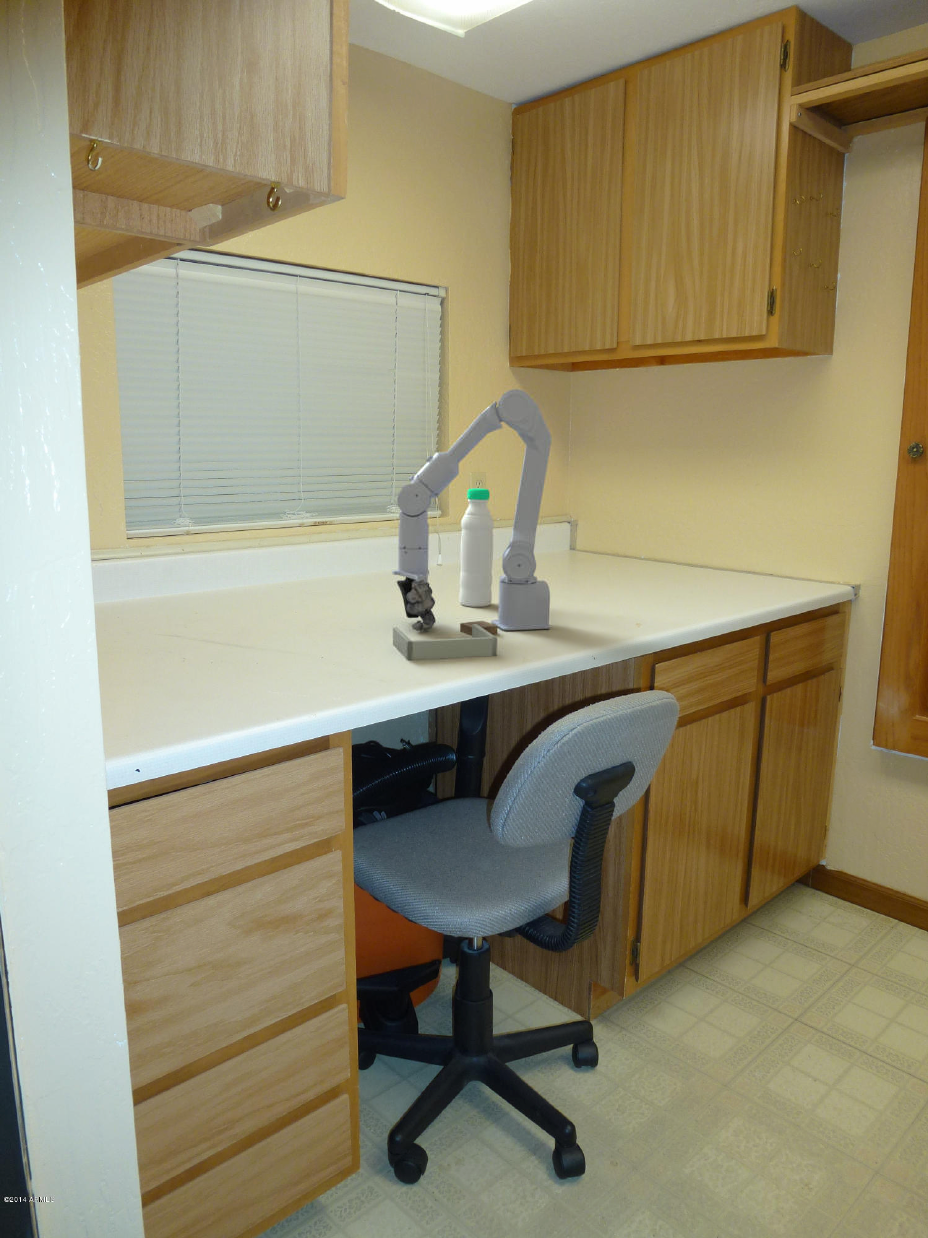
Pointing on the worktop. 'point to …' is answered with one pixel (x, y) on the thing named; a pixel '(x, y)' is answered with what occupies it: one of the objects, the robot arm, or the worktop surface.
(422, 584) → the seashell
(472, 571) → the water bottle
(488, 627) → the walnut tile
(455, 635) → the worktop surface
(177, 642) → the worktop surface
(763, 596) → the worktop surface
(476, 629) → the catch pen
